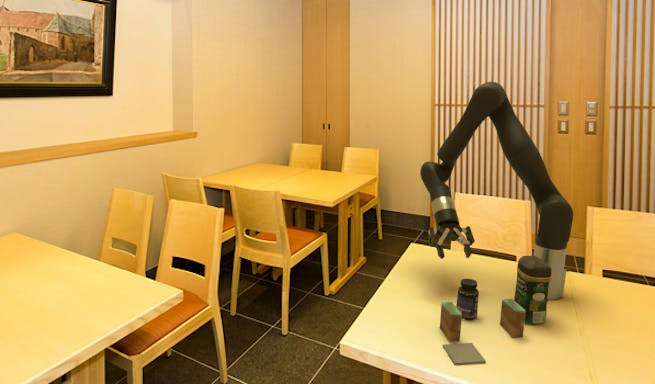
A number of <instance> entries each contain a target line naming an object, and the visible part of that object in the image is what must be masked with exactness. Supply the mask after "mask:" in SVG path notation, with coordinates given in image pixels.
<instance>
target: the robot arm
mask: <svg viewBox="0 0 655 384" xmlns="http://www.w3.org/2000/svg"><path fill="white" fill-rule="evenodd" d="M488 118H489V120H490V121H491V123H492V124H493V126H494V128H495V131H496V134H497V136H498V137H497V138H498V140H499V144H500V147H501V150H502V153H503V155H504V156H505V159H506V160H507V161H508V163H509V165H510V166H511V169H512V170H513V171H514V172H515V174H516V175H517V177H518V178H519V179H520V181H522V183H523V184H524V185H525V186H526V187H527V189H528V191H529V193H530V195H531V197H532V199H533V201H534V205H535V207H536V209H537V213H538V215H539V220H538V228H537V233H536V235H535V240H534V241H535V242H534V249H533V256H536V257H538V258H539V259H541V260H543V261H544V262H546V263H547V264H548V265H549V266H550V267H551V269H552V271H551V279H550V282H549V287H548V297H547V301H548V300H551V301H553V300H554V301H555V300H558V299H560V298H563V297H564V291H565V284H566V277H567V269H566V268H565V263H566V257H567V256H566V255H567V248H568V243H569V241H570V238H571V233H572V227H573V226H572V225H573V220H574V210H573V207H572V205H571V204H570V203H569V202H568V200H567V199H566V198H565V197H564V196H563V195H562V193H561V191H559V189H558V188H557V187H556V186H555V184H554V182H553V181H552V179H551V177H550V175H549V173H548V170H547V166H546V165H545V162H544V160H543V157H542V155H541V153H540V151H539V150H538V148H537V146H536V144H535V142H534V141H533V139H532V138H531V136H530V135H529V132H528V131H527V130H526V128H525V127H524V126H523V123H521V121H520V119H519V118H518V116H517V114H516V113H515V111H514V109H513V106H512V104H511V102H510V100H509V97H508V95H507V92H506V91H505V88H504V87H503V86H502V85H501V84H500V83H499V82H496V81H487V82H484V83H482V84H480V85H479V86H477V87H476V88H475V89H474V91H473V92H472V95H471V97H470V99H469V101H468V103H467V105H466V108H465V110H464V112H463V114H462V115H461V117H460V118H459V121H458V122H457V123H456V125H455V126H454V128H453V129H452V130H451V132H450V133H449V135H448V136H446V137H447V138H445V140H444V142H443V143H442V144H441V146H440V147H439V149H438V151H437V155H436V156H437V157H438V159H439V160H440V161H442V162H441V163H438V162H435V161H425V162H424V163H423V164H422V165H421V168H420V174H419V175H420V178H421V180H422V182H423V185H424V186H425V188H426V190H427V192H428V193H429V196H430V201H431V207H432V208H431V209H432V214H433V216H434V218H433V219H434V221H435V223H434V224H435V227H436V228H434V227H433V226H430V227H429V229H428V230H427V234H428V236H427V237H428V242H429V246H430V247H431V248H432V247H433V248H436V252H437V256H438V257H439V258H440V259H441V260H443V259H444V258H445V252H444V248H443V245H442V244H443V242H444V241H445V242H457V243H458V244H461V246H463V250H464V256H465V258H466V259H469V258H470V257H471V256H472V249H471V246H472V245H474V243H475V241H476V240H475V238H474V235H473V232H472V231H473V230H472V229H471V226H469V225H467V226H466V227H461V225H460V221H459V217H458V212H457V208H456V205H455V202H454V199H453V197H452V192H451V190H450V187H449V185H447V184H446V182H448V180H450V178H451V176H452V173H453V170H454V167H455V165H456V162H457V160H458V159H459V158H460V157H461V155H462V153H463V152H464V151H465V149H466V148H467V146H468V144H469V143H470V142H471V139H472V138H473V136H474V134H475V132H476V131H477V130H478V128H479V127H480V125H481V124H482V123H483V122H484V121H485V120H486V119H488ZM436 234H437V235H438V236H439V239H438V241H436V236H435V235H436ZM559 297H560V298H559Z"/></svg>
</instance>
